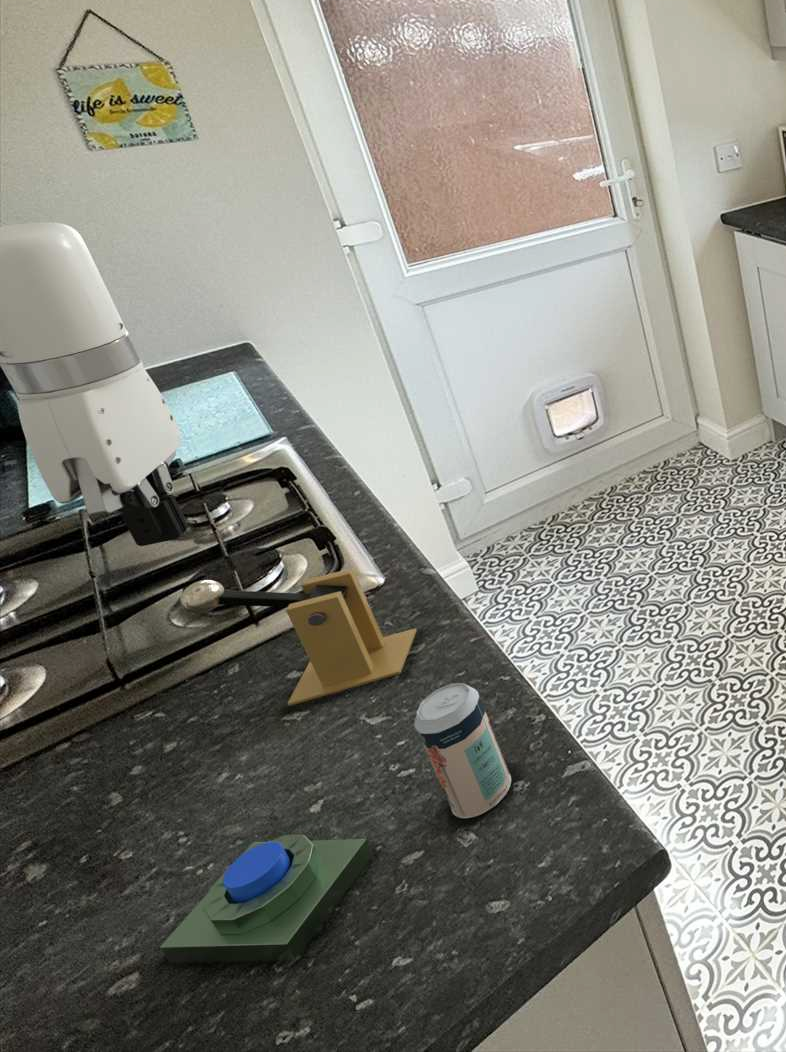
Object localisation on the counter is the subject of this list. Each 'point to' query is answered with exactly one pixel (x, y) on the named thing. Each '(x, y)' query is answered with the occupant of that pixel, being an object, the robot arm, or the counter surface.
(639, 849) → the counter surface
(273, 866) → the light button
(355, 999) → the counter surface
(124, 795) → the counter surface
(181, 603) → the black silver long piece
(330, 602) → the bracket
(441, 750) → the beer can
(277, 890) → the button box
